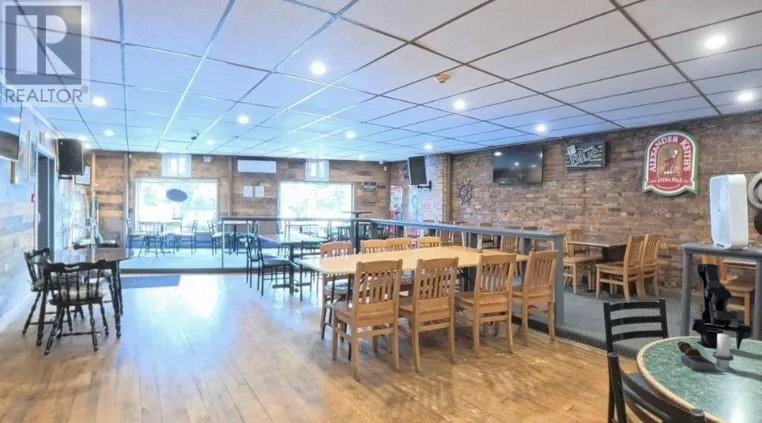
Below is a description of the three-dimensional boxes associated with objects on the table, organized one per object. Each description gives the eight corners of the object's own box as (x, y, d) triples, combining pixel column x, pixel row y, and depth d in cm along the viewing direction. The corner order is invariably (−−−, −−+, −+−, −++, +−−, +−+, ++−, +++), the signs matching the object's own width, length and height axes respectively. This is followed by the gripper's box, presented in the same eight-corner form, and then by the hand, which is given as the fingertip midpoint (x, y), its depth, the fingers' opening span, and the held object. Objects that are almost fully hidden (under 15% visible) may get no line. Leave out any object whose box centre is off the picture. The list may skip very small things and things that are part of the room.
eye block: (681, 362, 172) (681, 355, 172) (702, 363, 171) (702, 356, 171) (692, 370, 164) (693, 362, 164) (715, 371, 163) (715, 364, 163)
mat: (706, 364, 170) (706, 363, 170) (725, 365, 169) (725, 364, 169) (718, 371, 163) (718, 370, 163) (738, 372, 162) (738, 371, 162)
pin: (707, 364, 169) (709, 332, 168) (722, 363, 170) (723, 332, 169) (722, 371, 163) (724, 338, 162) (737, 370, 164) (738, 337, 163)
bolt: (683, 353, 187) (695, 364, 173) (671, 346, 188) (683, 357, 174) (691, 342, 186) (704, 353, 172) (679, 335, 187) (692, 346, 173)
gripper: (694, 299, 174) (697, 333, 165) (752, 305, 165) (759, 341, 156) (690, 313, 181) (693, 346, 172) (746, 320, 172) (752, 355, 163)
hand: (723, 347), depth 166 cm, fingers open, 9 cm apart
